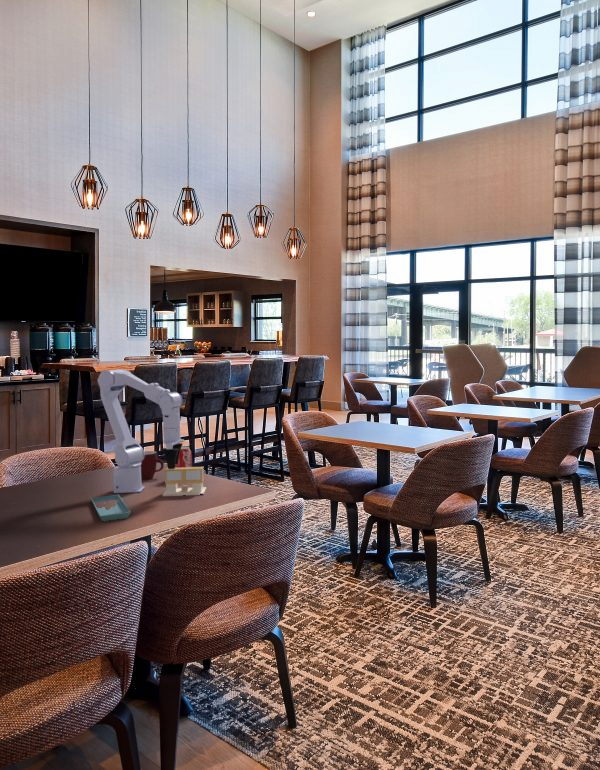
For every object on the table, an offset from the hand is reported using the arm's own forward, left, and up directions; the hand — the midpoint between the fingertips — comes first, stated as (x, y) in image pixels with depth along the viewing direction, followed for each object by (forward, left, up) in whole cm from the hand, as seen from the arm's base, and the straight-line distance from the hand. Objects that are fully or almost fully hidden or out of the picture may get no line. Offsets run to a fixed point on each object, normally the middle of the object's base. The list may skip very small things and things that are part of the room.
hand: (173, 466), depth 218 cm
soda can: (-1, +26, -10) cm, 28 cm away
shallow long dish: (-18, -18, -11) cm, 27 cm away
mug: (-14, +28, -10) cm, 33 cm away
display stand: (+3, +2, -10) cm, 11 cm away
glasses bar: (+3, +2, -6) cm, 7 cm away
